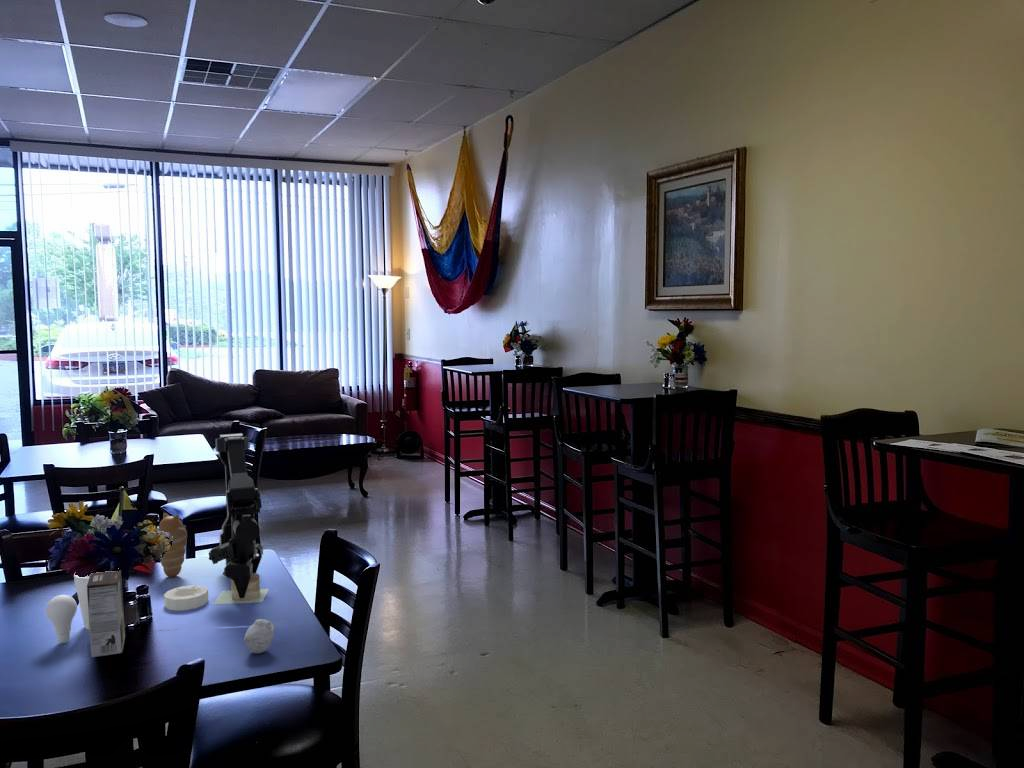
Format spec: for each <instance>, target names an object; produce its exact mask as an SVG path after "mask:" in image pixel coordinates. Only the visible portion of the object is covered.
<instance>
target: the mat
mask: <svg viewBox="0 0 1024 768" xmlns="http://www.w3.org/2000/svg"><path fill="white" fill-rule="evenodd" d="M269 590H270V588H260V596H259V597H257V598H255V599H252V600H247V601H236V600H233V599H232V592H231V589H230V590H228V589H227V590H222V591H221V593H220V594H219V595H218V597H217V598H216V600H215V601H214V603H213V605H231V604H232V605H233V604H249V603H250V604H251V603H253V604H254V603H263V601H264V599H265V597H266V595H267V594H268V592H269Z"/></svg>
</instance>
